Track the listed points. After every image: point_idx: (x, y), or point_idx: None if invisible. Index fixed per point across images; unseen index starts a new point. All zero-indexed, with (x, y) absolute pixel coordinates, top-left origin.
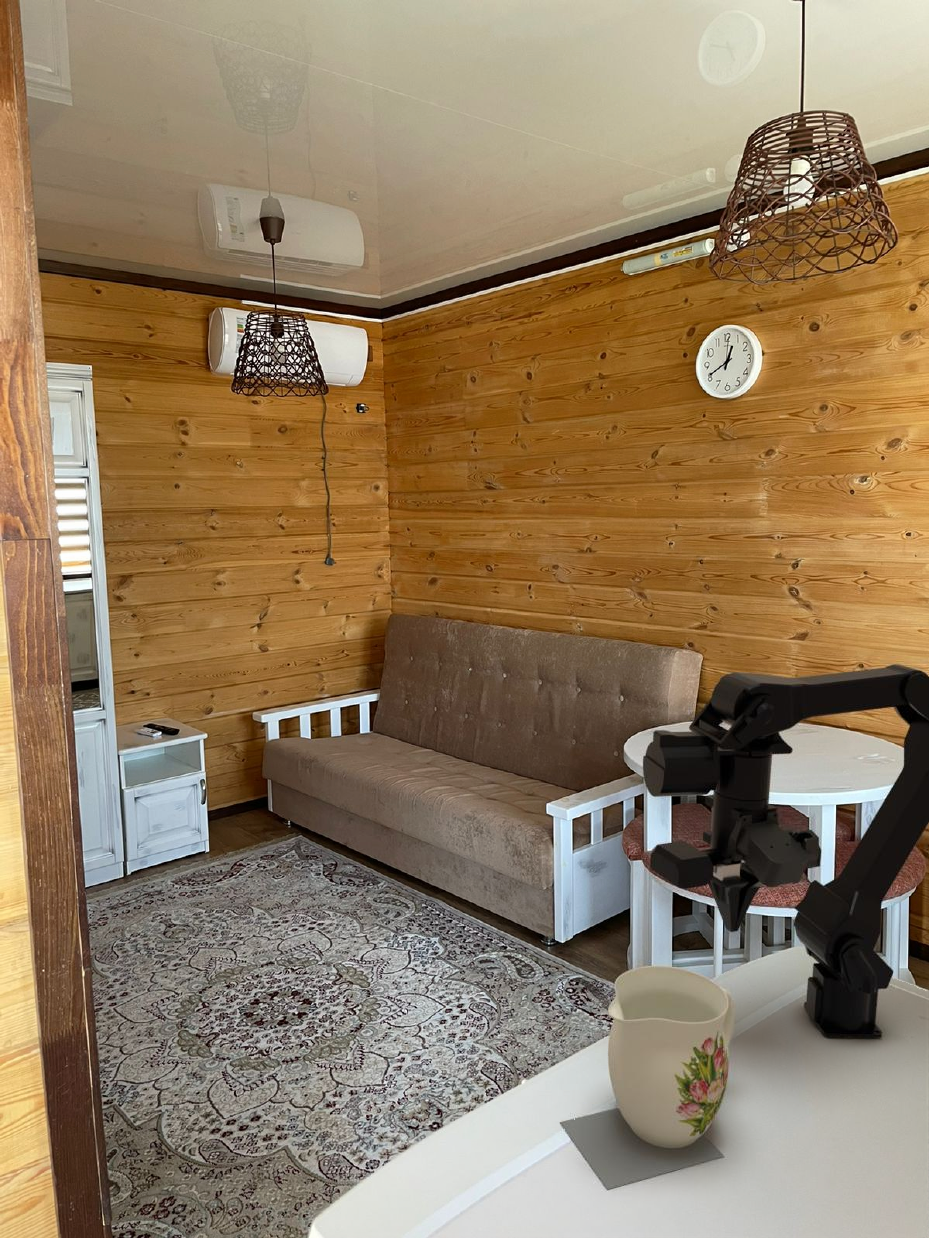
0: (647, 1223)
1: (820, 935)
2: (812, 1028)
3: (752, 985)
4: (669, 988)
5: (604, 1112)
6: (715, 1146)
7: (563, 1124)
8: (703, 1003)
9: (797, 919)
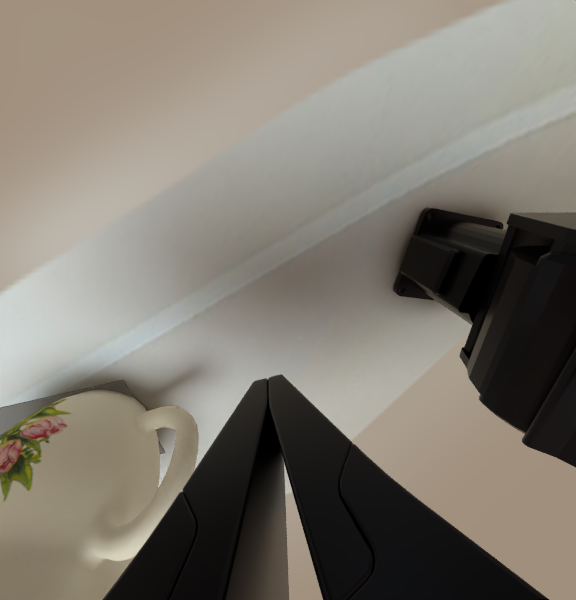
0: None
1: (522, 395)
2: (392, 266)
3: (386, 110)
4: (1, 564)
5: (27, 404)
6: (159, 443)
7: None
8: (90, 569)
9: (567, 282)
